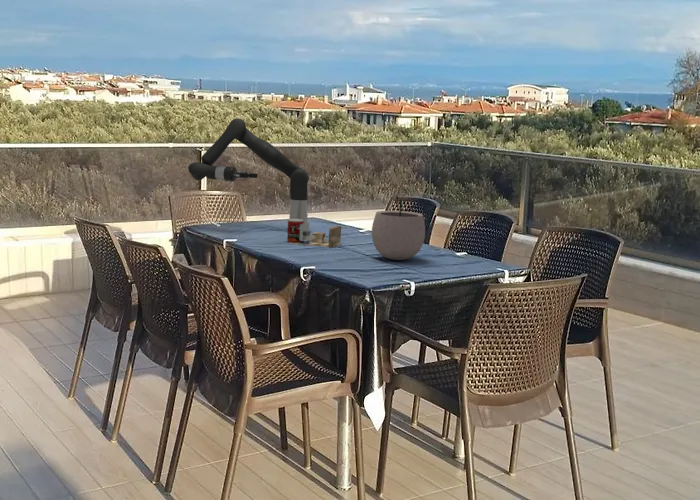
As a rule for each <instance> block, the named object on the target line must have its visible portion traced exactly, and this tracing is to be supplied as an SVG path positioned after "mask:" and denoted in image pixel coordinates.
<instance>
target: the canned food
mask: <svg viewBox="0 0 700 500" xmlns="http://www.w3.org/2000/svg"><path fill="white" fill-rule="evenodd" d="M302 223H304V220H302V219H289V218H288V219H287V239H286V240H287V242H288V243H289V244H290V243H300V244H303V242H304V241H300V240H299V238H300V224H302Z"/></svg>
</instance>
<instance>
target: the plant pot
mask: <svg viewBox="0 0 700 500" xmlns="http://www.w3.org/2000/svg"><path fill="white" fill-rule="evenodd" d="M405 195H406V194H405V193H404V194H403V195H402V197H401V198H400V196H398V195H397V194H396V202H397V204H399V210H379V211H376V212H375V216H374V219H373V220H372V221H373V223H372V226H371V239H372V242H373V245H374V248H375V250H376V251H377V252H378V253H379V254H380V255H381V256H382V257H384V258H386V259H389V260H393V261H405V260H409V259H411V258H413V257H415V256H416V255H417V254H418V253H419V252H420V250H421V248H422V247H423V244H424V241H425V239H426V225H425V218H424V215H423V214H422V213H418V212H413V211H405V210H403V211H402V200H403V198H404V196H405ZM399 200H400V201H399Z"/></svg>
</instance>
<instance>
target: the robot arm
mask: <svg viewBox="0 0 700 500" xmlns="http://www.w3.org/2000/svg"><path fill="white" fill-rule="evenodd" d="M234 140H237V142H238V141H239V142H240V143H241V144H243V145H245V146H246V147H247V148H249V150H250V151H252V153H254V154H255V155H256V156H257V157H259V158H260V159H261V160H262V161H264V162H265V163H266V164H267V165H269V166H271V167H272V168H275V169H276V170H278V171H280V172H282V173H283V174H284V175H285V176H287V178H289V196H290V199H289V218H288V219H302V220H304V223H305V222H308V215H309V214H308V198H309V197H308V183H309V180H310V176H309V175H310V174H309V173H308V171H306V170H305V169H303V168H302V167H300V166H299V165H297V164H295V163H293V161H291V160H290V159H289V158H288V157H287V156H286V155H285V154H283V153H282V152H281V151H280V150H279V149H278V148H276V147H275V145H273V144H272V143H270V142H268V141H266V140H265V139H262V138H260V137H258V136H256V135H255V134H254V133H252V131H250V130H249V129H248V128H247V124H246V122H245V121H244V120H243V119H241V118H237V117H236V118H233V119H232V120H231V121H230V122H229V124H228V125H227V127H226V129H225V130H224V131H223V133H222V134H221V135H220V136H219V138H217V140H216V141H215V142H214V143H213V144H212V145H211V146H210V147H209V148H208V149H207V150H206V151H205V152H204V154H203V155H202V156H201V157H200V158H201V162H198V161H196V162H195V161H194V162H191V163H190V164H189V166H188V168H187V170H188V173H189V174H190V175H191V177H192V178H193V179H194V180H195V181H202V180H203V179H205V177H206V178H207V179H209V180H217V181H222V182H223V181H225V182H235V181H236V180H237V179H238V180H239V179H257V178H258V173H256V172H255V173H254V172H253V173H252V172H249V171H245V170H237V168H236V166H227V165H226V166H225V165H221V166H220V165H214V164H215V163H216V162H217V161H218V160H219V158H220V157H221V156H222V155H223V153H224V152H225V151H226V150H227V148H228V147H229V145H230V144H231V143H232V142H233V141H234Z"/></svg>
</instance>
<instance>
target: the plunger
mask: <svg viewBox="0 0 700 500" xmlns="http://www.w3.org/2000/svg"><path fill="white" fill-rule="evenodd" d="M299 240H300V241H303V240H309V241H308V242H311V241H312V234H311V230H310V222H308V221H307V222H305V223H302V224H300V238H299ZM327 241H328V236H326V235H325V236H323V242H327ZM303 242H304V241H303Z"/></svg>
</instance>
